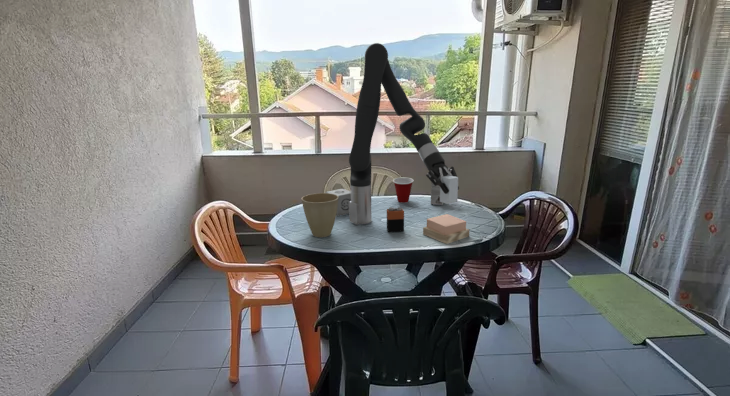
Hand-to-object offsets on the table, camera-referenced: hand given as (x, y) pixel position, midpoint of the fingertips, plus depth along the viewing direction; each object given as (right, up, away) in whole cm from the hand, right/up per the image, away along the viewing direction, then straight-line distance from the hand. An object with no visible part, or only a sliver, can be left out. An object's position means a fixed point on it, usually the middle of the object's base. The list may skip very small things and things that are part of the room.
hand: (452, 191), depth 145 cm
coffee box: (+4, -5, +51) cm, 51 cm away
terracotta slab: (-1, -15, +6) cm, 16 cm away
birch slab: (-1, -18, +7) cm, 20 cm away
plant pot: (-52, -18, +10) cm, 56 cm away
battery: (-21, -16, +13) cm, 30 cm away
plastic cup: (-14, -5, +53) cm, 55 cm away
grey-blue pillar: (-1, -4, +3) cm, 5 cm away
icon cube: (-46, -10, +38) cm, 61 cm away
